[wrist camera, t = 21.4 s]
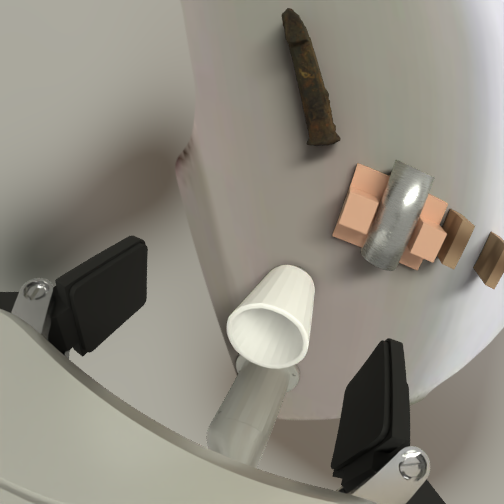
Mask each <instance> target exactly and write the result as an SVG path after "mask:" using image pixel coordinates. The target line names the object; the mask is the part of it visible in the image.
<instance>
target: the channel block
mask: <svg viewBox="0 0 504 504" xmlns="http://www.w3.org/2000/svg"><path fill="white" fill-rule="evenodd" d="M474 227H475V226H474V225H473V224H472V223H471V222H470V221H468V220H467V219H466V218H465V217H464V216H463V215H461V214H460V213H458V212H456V211H454V210H452V209H450V210H449V213H448V215H447V217H446V220H445V222H444V224H443V227H442V228H443V230H444V231H445V232H446V233H447V235H446V237H445V240H444V242H443V244H442V246H441V248H440V250H439V252H438V254H437V256H438V258H439V259H440V261H441V263H442V264H444V265H446V266H448V267H450V268H452V269H454V268H455V267H456V265H457V263H458V261H459V259H460V257H461V255H462V253H463V251H464V249H465V247H466V245H467V243H468V241H469V238H470V236H471V234H472V232H473V230H474ZM473 268H474V270H475V271H476V272H477V274H478V275H479V277H480V278H481V279H482V281H483V282H484V284H485V285H487V286H488V287H490V288H492V289H495V287H496V285H497V284H498V282H499V280H500V278H501V276H502V275H503V273H504V240H503V239H502V238H500V237H499V236H498V235H496V234H494V233H493V232H491V233H490V235H489V237H488V239H487V241H486V244H485V246H484V248H483V250H482V252H481V254H480V256H479V258H478V260H477V262H476V264H475V266H474V267H473Z"/></svg>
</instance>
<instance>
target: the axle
mask: <svg viewBox="0 0 504 504" xmlns="http://www.w3.org/2000/svg"><path fill="white" fill-rule="evenodd" d="M433 181H434V177H432V176H430V175H429V174H427V173H425V172H422V171H420V170H418V169H416V168H414V167H412V166H410V165H407V164H405V163H403V162H400V161H398V160H395V163H394V166H393V169H392V172H391V175H390V178H389V181H388V184H387V187H386V189H385V192H384V195H383V198H382V200H381V203H380V206H379V208H378V211H377V213H376V216H375V218H374V221H373V223H372V226H371V228H370V231H369V233H368V236H367V238H366V241H365V243H364V245H363V248H362V250H361V254H362V256H363V257H364V258H365V259H366V260H367V261H368V262H369V263H371V264H373V265H374V266H376V267H378V268H381V269H384V270H388V271H393V270H395V269H396V267H397V265H398V263H399V261H400V259H401V257H402V255H403V253H404V251H405V249H406V246H407V244H408V242H409V240H410V238H411V236H412V233H413V231H414V229H415V226H416V224H417V222H418V219H419V217H420V215H421V212H422V210H423V207H424V205H425V202H426V200H427V197H428V194H429V192H430V189H431V186H432V183H433Z"/></svg>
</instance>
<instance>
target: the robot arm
mask: <svg viewBox="0 0 504 504" xmlns="http://www.w3.org/2000/svg"><path fill="white" fill-rule="evenodd" d="M147 251H148V249H147V246H146V245H145V242H144V240H142V239H140V238H137V237H135V236H129V237H127V238H125V239H123V240H122V241H120V242H118V243H116V244H115V245H113V246H111V247H109V248H107V249H106V250H104V251H102V252H101V253H99V254H97V255H95V256H94V257H92V258H90V259H89V260H87V261H85V262H84V263H82V264H80V265H79V266H77V267H75V268H74V269H72V270H70V271H69V272H67V273H66V274H64V275H62V276H61V277H59V278H58V279H56V286H55V287H53V285H52V283H51V282H50V281H49V280H46V279H44V278H36V279H32V280H30V281H28V282H26V283H25V284H24V285H23V286H22V288H21V289H20V291H19V292H0V504H446V503H445V502H444V501H443V500H442V498H441V497H440V496H439V495H438V493H437V492H436V491H435V489H434V488H433V487H432V486H431V484H430V483H429V482H428V481H427V477H428V476H429V473H430V461H429V458H428V456H427V455H426V453H425V452H424V451H422V450H421V449H420V448H418V447H414V446H410V405H409V387H408V384H407V382H406V370H405V359H404V350H403V344H402V343H401V342H398V341H395V340H392V339H390V338H388V339H386V340H385V341H383V340H382V341H380V343H379V344H378V345H377V347H376V348H375V350H374V351H373V352H372V354H371V355H370V357H369V358H368V359H367V361H366V362H365V363H364V365H363V366H362V367H361V369H360V370H359V371H358V373H357V374H356V375H355V376H354V378H353V379H352V380H351V381H350V383H349V384H348V386H347V387H346V390H345V394H344V400H343V407H342V413H341V418H340V424H339V430H338V434H337V440H336V444H335V449H334V454H333V458H332V462H331V468H332V469H334V472H333V477H338V478H343V479H342V483H341V485H342V486H341V487H340V488H339V489H337V490H336V491H333V490H329V489H325V488H321V487H317V486H312V485H309V484H305V483H301V482H298V481H294V480H291V479H288V478H284V477H281V476H278V475H275V474H272V473H269V472H266V471H262V470H260V469H257V468H258V465H259V462H260V459H261V457H262V454H263V452H264V449H265V447H266V444H267V442H268V439H269V436H270V434H271V432H272V429H273V426H274V423H275V421H276V418H277V416H278V413H279V410H280V408H281V405H282V402H283V399H284V397H285V394H286V392H288V391H291V390H292V389H294V388H295V387H296V385H297V383H298V381H299V377H300V373H299V369H298V367H297V365H296V364H295V365H292V366H290V367H286V368H280V369H276V368H266V367H263V366H259V365H257V364H255V363H252V362H250V361H249V360H247V359H246V358H244V357H243V356H241V355H239V357H238V358H237V361H236V369H237V372H238V376H237V377H236V379H235V381H234V383H233V385H232V387H231V388H230V391H229V392H228V394H227V396H226V398H225V399H224V401H223V403H222V405H221V407H220V408H219V410H218V412H217V414H216V415H215V417H214V419H213V421H212V422H211V424H210V426H209V428H208V430H207V436H206V438H207V444H208V448H209V449H208V448H206V447H204V446H202V445H200V444H197V443H195V442H193V441H191V440H189V439H187V438H185V437H183V436H181V435H180V434H178V433H176V432H174V431H172V430H170V429H169V428H167V427H165V426H163V425H161V424H160V423H158V422H156V421H155V420H153V419H151V418H149V417H148V416H146V415H145V414H143V413H141V412H140V411H138V410H137V409H135V408H133V407H131V406H130V405H129V404H127V403H126V402H124V401H123V400H121V399H120V398H118V397H117V396H116V395H114V394H113V393H111V392H110V391H109V390H107V389H106V388H104V387H103V386H102V385H100V384H99V383H98V382H96V381H95V380H94V379H92V378H91V377H90V376H89V375H87V374H86V373H85V372H83V371H82V370H81V369H80V368H79V367H77V366H76V365H75V364H74V363H73V362H71V361H70V360H69V352H70V349H71V348H72V347H73V348H74V350H75V351H77V352H78V353H79V354H80V355H82V356H84V355H85V354H86V353H87V352H92V351H93V350H94V349H96V348H97V347H98V346H99V345H100V344H101V343H102V342H103V341H104V340H105V339H106V338H108V337H109V336H110V335H111V334H112V333H113V332H114V331H115V330H116V329H117V328H119V327H120V326H121V325H122V324H123V323H124V322H125V321H126V320H127V319H129V318H130V317H131V316H132V315H133V314H134V313H135V312H137V311H138V310H139V309H140V308H141V307H142V306H143V305H144V304H145V302H146V298H147V297H146V295H147Z"/></svg>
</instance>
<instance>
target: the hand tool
mask: <svg viewBox="0 0 504 504" xmlns="http://www.w3.org/2000/svg"><path fill="white" fill-rule="evenodd" d="M282 20H283V26H284V28H285V37H286V40H287V42H288V44H289V48H290V52H291V55H292V59H293V63H294V68H295V72H296V77H297V81H298V86H299V90H300V94H301V99H302V104H303V109H304V113H305V118H306V123H307V127H308V131H309V140H308V142H307V145H314V146H320V145H330V144H334V143H336V142H338V141H340V137H339V136H338V134H337V133H336V132H335V131H336V126H335V125H334V123H333V118H332V114H331V112H332V111H331V108H330V100H329V98H328V97H329V94H328V92H327V90H326V89H325V87H324V82H323V79H322V76H321V72H320V69H319V66H318V62H317V58H316V55H315V52H314V48H313V46H312V42H311V39H310V37H309V35H308V32H307V29H306V27H305V26H304V24H303V22H302V21H301V19H300V17H299V15H298V14H296V13H295V12H294V11H293V10H292V9H290V8H287V9H286V11H285V12H284V13H283V14H282Z"/></svg>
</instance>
